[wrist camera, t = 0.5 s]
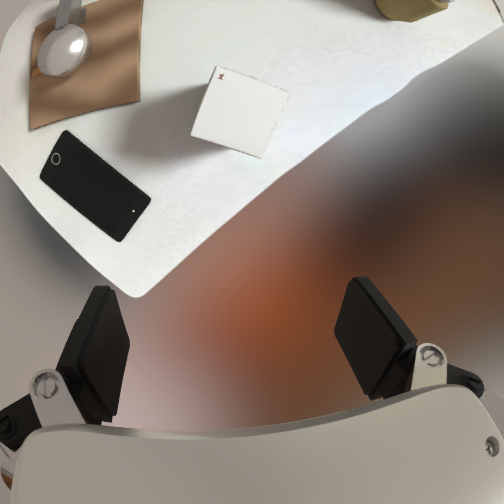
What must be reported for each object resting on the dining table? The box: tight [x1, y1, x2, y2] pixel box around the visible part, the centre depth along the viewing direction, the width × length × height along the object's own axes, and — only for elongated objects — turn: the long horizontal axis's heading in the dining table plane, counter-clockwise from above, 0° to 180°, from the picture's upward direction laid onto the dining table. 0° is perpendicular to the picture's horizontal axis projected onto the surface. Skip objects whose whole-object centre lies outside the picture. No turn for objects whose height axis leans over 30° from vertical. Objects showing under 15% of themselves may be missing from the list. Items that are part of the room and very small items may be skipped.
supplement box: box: [190, 65, 290, 159], centre depth 27 cm, size 7×7×13 cm
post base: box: [30, 0, 144, 129], centre depth 23 cm, size 18×18×4 cm
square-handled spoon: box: [37, 0, 92, 77], centre depth 17 cm, size 16×7×3 cm, turn 0°
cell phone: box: [40, 130, 151, 242], centre depth 34 cm, size 9×18×1 cm, turn 45°
